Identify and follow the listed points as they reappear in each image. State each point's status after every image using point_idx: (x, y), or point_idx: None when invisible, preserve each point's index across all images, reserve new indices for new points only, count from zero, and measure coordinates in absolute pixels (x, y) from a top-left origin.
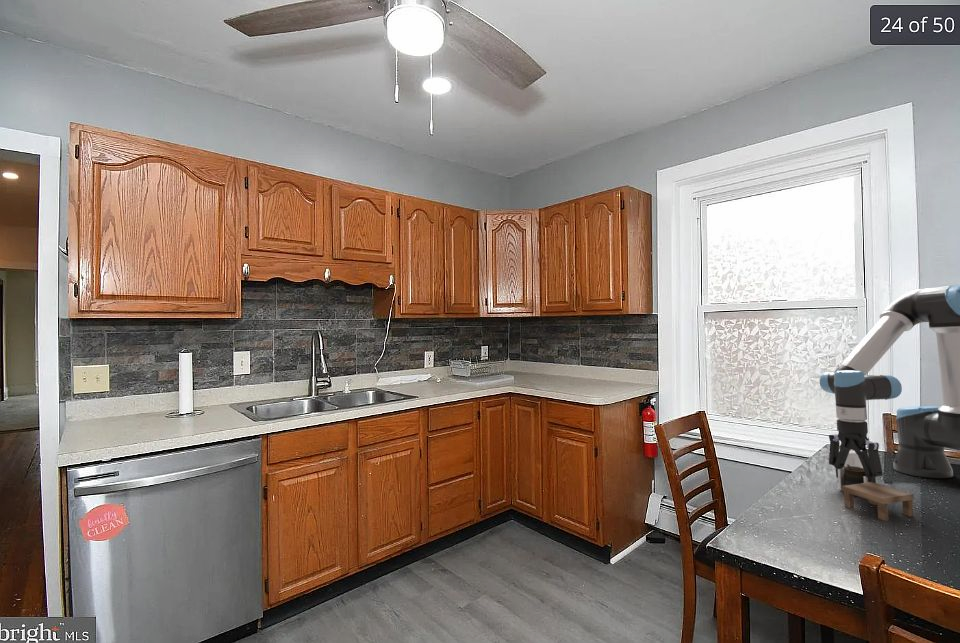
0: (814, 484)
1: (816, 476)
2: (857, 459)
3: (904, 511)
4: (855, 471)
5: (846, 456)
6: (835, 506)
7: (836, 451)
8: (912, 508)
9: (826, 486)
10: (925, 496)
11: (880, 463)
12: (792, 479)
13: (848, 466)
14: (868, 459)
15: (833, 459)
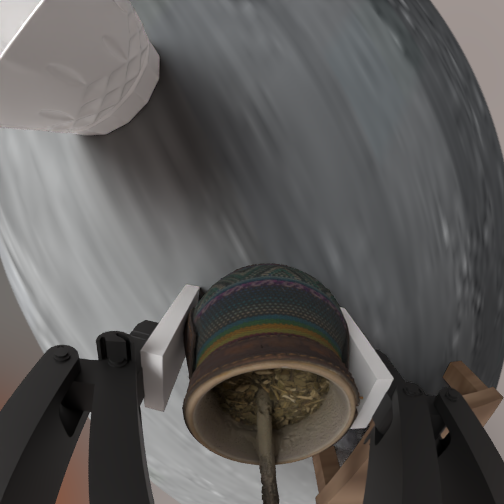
0: (87, 325)
1: (23, 193)
2: (80, 30)
3: (450, 382)
4: (305, 457)
5: (145, 480)
6: (292, 466)
7: (37, 474)
8: (472, 375)
9: (121, 313)
10: (429, 74)
11: (493, 447)
12: (31, 325)
13: (272, 500)
14: (428, 498)
15: (75, 430)
